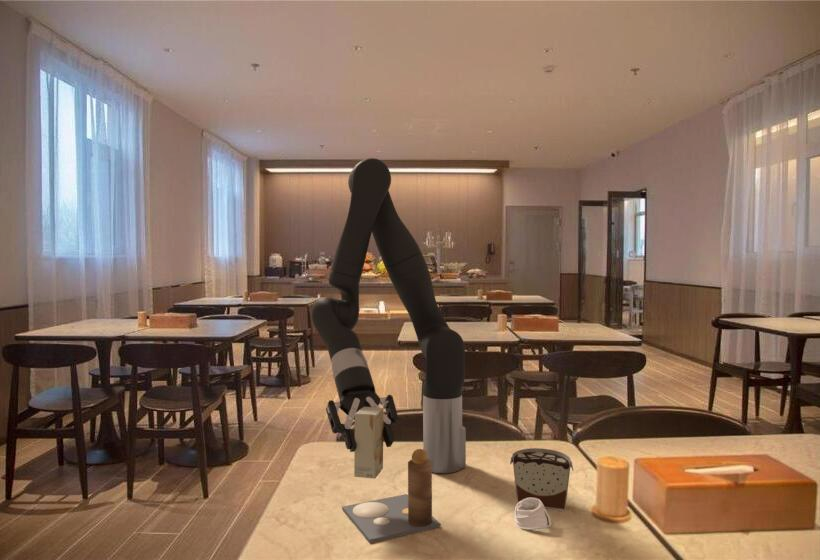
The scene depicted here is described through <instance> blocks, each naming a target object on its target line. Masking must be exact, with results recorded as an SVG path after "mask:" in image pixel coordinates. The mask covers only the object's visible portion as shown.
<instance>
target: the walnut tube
mask: <svg viewBox="0 0 820 560" xmlns="http://www.w3.org/2000/svg"><path fill="white" fill-rule="evenodd" d="M432 473H433V472H432V462H431V461H430V460H428V455H427V453H426V451H424V450H423V448H417V449H415V450H414V451H413V452H412V455H411V460H408V462H407V480H408V481H407V492H408V493H407V495H408V522H409V524H411V525H413V526H416V527H424V526H428V525H430V524H431V523H432V516H433V480H432V479H433V475H432Z"/></svg>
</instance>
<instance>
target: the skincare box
mask: <svg viewBox="0 0 820 560" xmlns="http://www.w3.org/2000/svg"><path fill="white" fill-rule="evenodd" d="M384 410H385V409H384V408H383V407H380V408H378V407H363V408H361V409H360V410H359V411H358V412H357V413H355V420H354V438H355V442H356V446H357V447H356V450H355V452H354V463H353V464H354V466H353V467H354V470H353V471H354V474H353V477H355V478H363V479H374V480H375V479H377V477H378V476H379V475H380V473H381V472H382V470H383V469H384V437H383V412H384Z"/></svg>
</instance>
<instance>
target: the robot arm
mask: <svg viewBox="0 0 820 560" xmlns="http://www.w3.org/2000/svg"><path fill="white" fill-rule="evenodd" d="M391 184H392V176H391V172H390V169H389V167H388V166H387V165H386V163H384V162H383V160H380V159H378V158H374V157H371V158H364V159H362V160H361V161H359V162H358V163H357V164H355V166H354V167H353V168H352V170H351V172H350V173H349V176H348V181H347V185H348V188H349V192H350V193H351V195H350V202H349V208H348V213H347V216H346V220H345V224H344V227H343V229H342V232H341V235H340V237H339V240H338V243H337V246H336V249H335V253H334V256H333V259H332V263H331V268H330V272H329V275H328V284H329V285H330V286H332V287H333V288H335V289H337V290H338V291H339V292H340V297H341V298H340V299H338V298H333V297H329V296H323V297H319V298H318V299H316V301H315V302H314V303H313V306H312V309H311V319H312V323H313V326H314V328H315V329H316V331H317V333H318V334H319V336H320V339H321V340H322V341H323V343H324V344H325V346H326V347H327V351H328V356H329V359H330V364H331V371H332V377H333V380H334V383H335V387H336V391H337V395H338V399H339V401H334V400H329V401H328V403H327V405H326V407H325V411H326V414H327V417H328V422H329V425H330V428H331V431H332V433H333V434H342V435H343V440H344V442H345V443H344V444H345V448H346V450H349V452H350V453H355V450H356V447H357V446H356V442H355V433H354V431H353V429H351V428H352V425H353V421H355V413H357V412H358V411H359V410H360V409H361V408H363V407H378V408H381V407H380V406H379V405H381V406H382V408H384V410H385V412H384V411H383V441H384V443H385V446H386V447H387V448H390V447H392V445H393V444H394V441H395V434H394V431H393V428H392V427H395V425H396V423H397V422H398V420H399V415H398V412H397V408H396V405H395V404H396V403H395V400H394V396H393V395H391V394H388V395H386V397H384V396H383V397H380V396H379V395H378V394H377V392H376V387H375V385H374V381H373V378H372V374H371V371H370V367H369V364H368V361H367V359H366V356H365V355H364V352H363V348H362V345H361V342H360V339H359V337H358V334H357V333H356V332H355V331H353V329H354V328H355V326H356V325H357V323H358V322H359V321H358V320H359V317H360V281H361V278H362V275H363V271H364V267H365V264H366V263H365V262H366V258H367V254H368V250H369V244H370V240H371V237H373V239H374V242H375V246H376V248H377V250H378V253H379V257H380V258H381V261H382V263H383V265H384V268H385V270H386V273H387V275H388V277H389V279H390V281H391V283H392V285H393V287H394V289H395V292H396V293H397V295H398V297H399V299H400V300H401V303H402V304H403V307H404V308H405V310H406V311H407V313H408V316H409V318H410V320H411V323H412V326H413V329H414V332H415V335H416V339H417V342H418V344H419V348H420V351H421V353H422V355H423V357H424V358H425V379H424V380H425V381H424V382H423V384H422V419H423V420H422V422H423V423H422V427H423V428H422V430H423V431H422V436H423V437H422V442H423V445H422V446H423V448H422V449H423V450H424V451H426V453H427V455H428V460H430V461H431V462H432V473H436V474H450V473H452V474H453V473H456V472H459V471H460V470H461V469H464V468H466V467H467V450H466V444H467V443H466V439H467V437H466V436H467V433H466V430H467V429H466V427H465V426H464V425H463V387H464V384H465V373H466V367H465V366H466V349H465V342H464V339H463V338H462V336H461V335H460V333H458V332H457V331H455V330H454V329H452V328H450V326H449V325H448V323H447V321H446V320H445V317H444V315H443V314H442V312H441V310H440V308H439V305H438V303H437V300H436V294H435V291H434V290H435V289H434V286H433V281H432V276H431V273H430V269H429V266H428V264H427V261H426V260H425V257H424V255H423V253H422V250H421V249H420V247H419V244H418V242H417V241H416V239H415V238H414V236H413V234H412V233H411V232H410V230H409V229H408V228H407V226H406V225H405V223H404V222H403V220H402V219H401V218H400V216H399V214H398V212H397V210H396V207H395V205H394V201H393V199H392V196H391V194H390V191H389V190H390V187H391ZM339 410H341V411H342V412H343V413H344V414H345V415H346V419H345V422H344V423H341V419H340V417H339ZM385 413H386V414H385Z"/></svg>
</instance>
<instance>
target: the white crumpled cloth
mask: <svg viewBox="0 0 820 560" xmlns="http://www.w3.org/2000/svg"><path fill="white" fill-rule="evenodd" d="M531 509H532V510H531ZM513 519H514V524H515V525H516V526H517V527H518V528H519V529H521V530H525V531H534V530H538V531H539V530H544V529H548V528H550V527H551V526H552V520H551V517H550V515H549V513H548V511H547V508H544V505H543V503H542V502H541V500H539V499H537V498H526V499H523V500H521V501H520V502H518V503H517V502H516V504H515V507H514V517H513Z"/></svg>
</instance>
